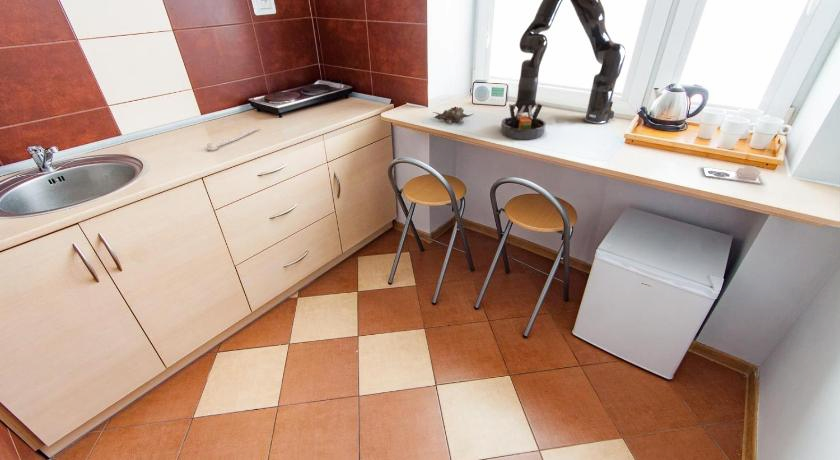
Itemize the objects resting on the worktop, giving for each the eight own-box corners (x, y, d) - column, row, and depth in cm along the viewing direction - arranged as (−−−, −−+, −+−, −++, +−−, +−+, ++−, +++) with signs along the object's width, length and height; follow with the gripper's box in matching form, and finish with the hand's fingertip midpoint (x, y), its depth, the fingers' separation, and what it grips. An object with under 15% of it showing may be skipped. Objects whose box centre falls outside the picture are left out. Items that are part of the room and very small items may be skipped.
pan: (536, 125, 178) (538, 115, 175) (550, 139, 162) (551, 128, 160) (496, 126, 177) (497, 116, 175) (506, 141, 162) (507, 130, 159)
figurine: (430, 113, 178) (433, 104, 192) (431, 126, 181) (433, 116, 196) (474, 111, 176) (473, 101, 190) (474, 124, 179) (473, 113, 193)
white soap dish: (755, 176, 129) (761, 163, 127) (760, 184, 124) (766, 171, 122) (703, 168, 135) (708, 156, 132) (705, 176, 130) (710, 164, 127)
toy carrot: (513, 123, 175) (514, 113, 172) (523, 123, 175) (524, 113, 172) (520, 133, 164) (522, 122, 161) (531, 132, 164) (532, 122, 162)
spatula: (253, 129, 182) (251, 123, 181) (260, 130, 181) (258, 124, 179) (205, 150, 161) (203, 143, 159) (212, 151, 159) (210, 144, 158)
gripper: (512, 90, 156) (508, 131, 165) (547, 89, 156) (541, 130, 166) (508, 86, 162) (504, 126, 172) (542, 84, 163) (536, 124, 172)
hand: (522, 127), depth 169 cm, fingers closed on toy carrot, 4 cm apart
